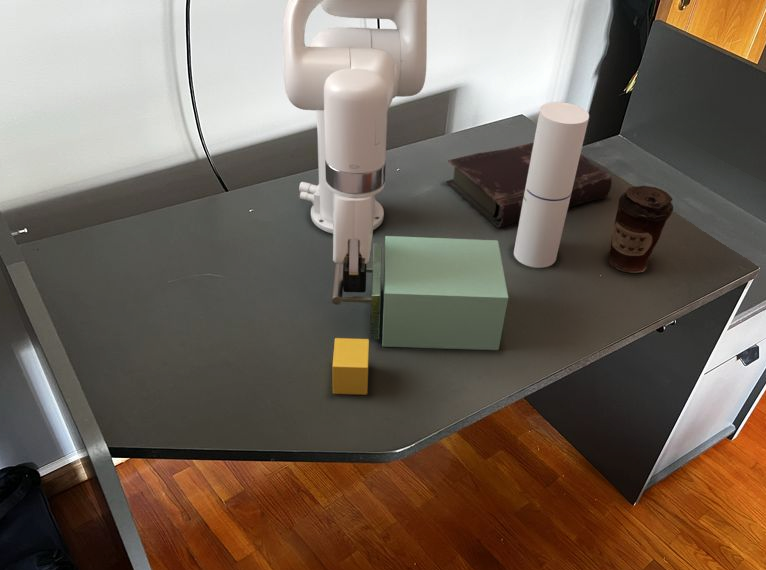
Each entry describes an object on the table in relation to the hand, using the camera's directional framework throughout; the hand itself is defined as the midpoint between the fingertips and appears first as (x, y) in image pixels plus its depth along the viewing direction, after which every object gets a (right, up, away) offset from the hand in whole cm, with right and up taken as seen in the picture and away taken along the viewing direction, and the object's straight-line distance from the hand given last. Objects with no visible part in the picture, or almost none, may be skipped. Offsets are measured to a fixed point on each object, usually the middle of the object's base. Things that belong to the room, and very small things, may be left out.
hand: (354, 288), depth 105 cm
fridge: (+12, -4, +4) cm, 14 cm away
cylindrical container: (+29, +7, +18) cm, 35 cm away
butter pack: (0, -13, -6) cm, 14 cm away
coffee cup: (+44, +6, +18) cm, 48 cm away
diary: (+29, +21, +34) cm, 49 cm away
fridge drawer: (+7, -3, +3) cm, 9 cm away
